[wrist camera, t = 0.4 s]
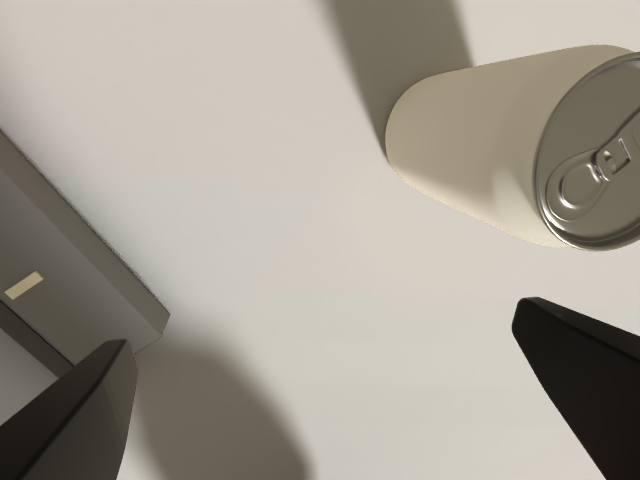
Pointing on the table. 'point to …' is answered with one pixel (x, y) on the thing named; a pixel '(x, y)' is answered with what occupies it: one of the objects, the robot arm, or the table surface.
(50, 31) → the table surface
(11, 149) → the console
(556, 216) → the can
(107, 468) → the robot arm
